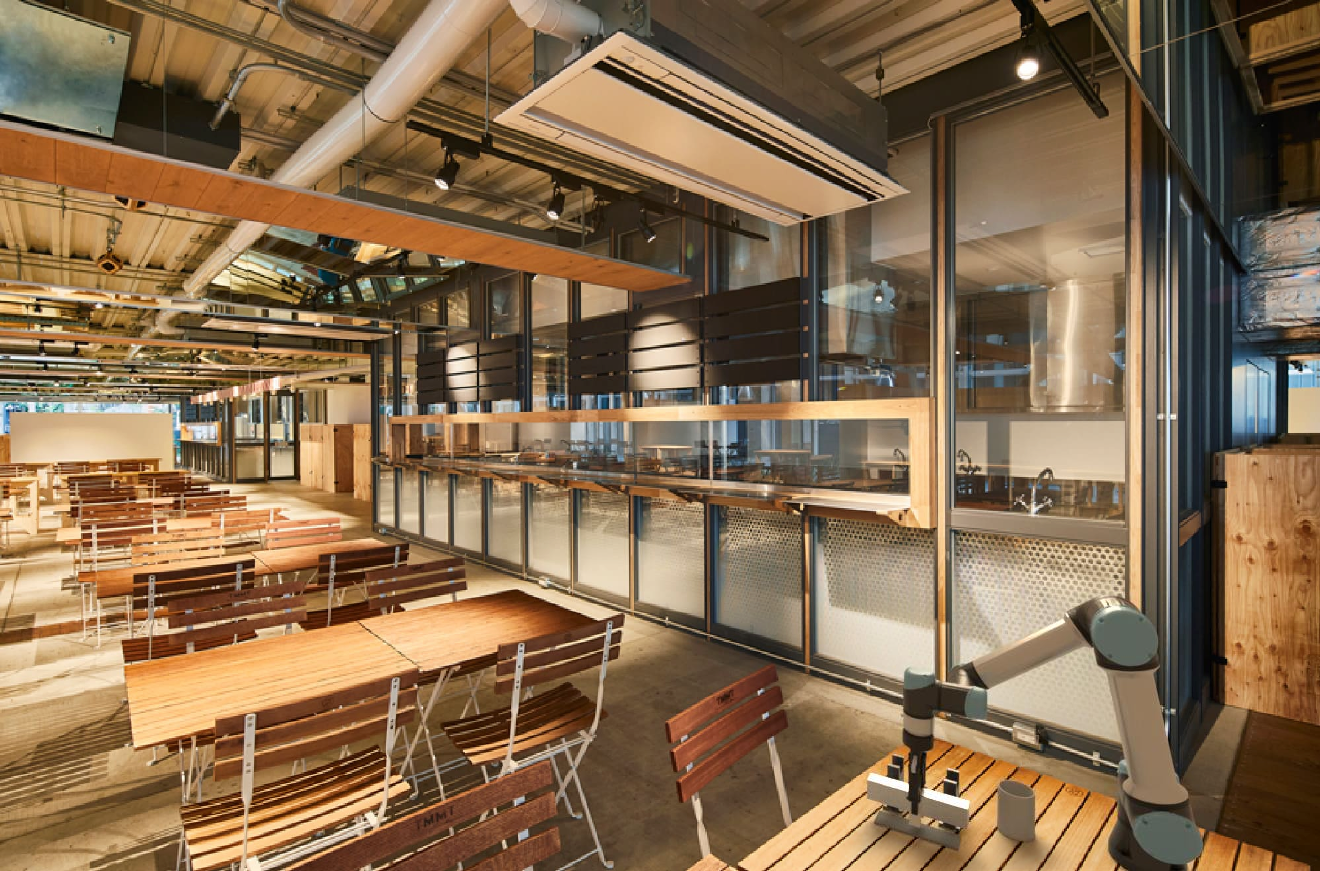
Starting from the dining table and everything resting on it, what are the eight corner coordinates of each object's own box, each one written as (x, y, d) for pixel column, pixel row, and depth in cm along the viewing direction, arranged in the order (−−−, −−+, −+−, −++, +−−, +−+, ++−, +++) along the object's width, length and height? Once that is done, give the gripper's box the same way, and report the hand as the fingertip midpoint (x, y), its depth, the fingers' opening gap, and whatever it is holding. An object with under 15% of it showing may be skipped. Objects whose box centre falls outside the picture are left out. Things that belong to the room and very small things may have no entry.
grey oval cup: (1041, 843, 158) (1042, 799, 158) (1005, 840, 159) (1006, 796, 159) (1019, 814, 170) (1020, 773, 170) (986, 811, 171) (986, 771, 171)
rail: (968, 820, 158) (969, 801, 158) (967, 829, 154) (967, 809, 154) (870, 791, 170) (870, 772, 170) (866, 798, 167) (867, 779, 167)
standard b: (907, 799, 176) (908, 756, 176) (902, 814, 169) (902, 769, 169) (888, 794, 178) (889, 751, 178) (882, 808, 172) (883, 764, 171)
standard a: (963, 816, 168) (963, 771, 168) (959, 832, 162) (960, 785, 162) (942, 810, 171) (943, 765, 171) (938, 825, 164) (939, 779, 164)
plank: (960, 837, 160) (960, 835, 160) (958, 850, 155) (958, 848, 155) (879, 811, 170) (879, 810, 170) (874, 823, 165) (874, 821, 165)
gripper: (908, 713, 171) (907, 799, 172) (896, 739, 157) (894, 833, 157) (938, 720, 168) (937, 808, 168) (928, 747, 153) (926, 843, 153)
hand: (916, 820), depth 162 cm, fingers closed on rail, 4 cm apart
